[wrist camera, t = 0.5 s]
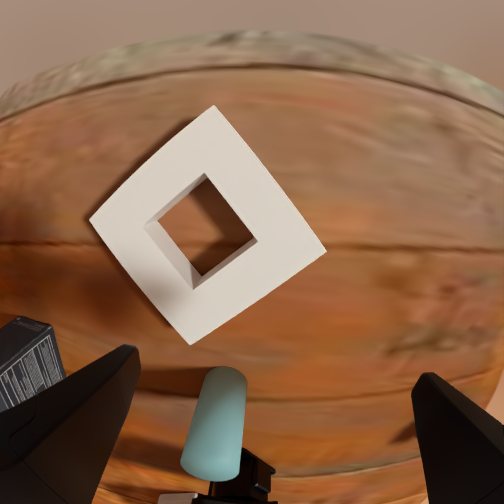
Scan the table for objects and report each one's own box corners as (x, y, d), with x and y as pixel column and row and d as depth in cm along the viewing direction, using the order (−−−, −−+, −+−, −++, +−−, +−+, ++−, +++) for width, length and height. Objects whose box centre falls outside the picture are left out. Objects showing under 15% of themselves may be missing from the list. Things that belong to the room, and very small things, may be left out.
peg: (223, 403, 26) (208, 485, 16) (195, 378, 25) (168, 459, 15) (256, 387, 25) (251, 473, 15) (228, 359, 24) (210, 445, 15)
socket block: (198, 327, 24) (190, 345, 21) (108, 215, 22) (88, 219, 19) (318, 242, 22) (326, 251, 19) (220, 114, 20) (213, 104, 17)
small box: (17, 313, 25) (-41, 352, 15) (53, 324, 25) (-8, 374, 15) (38, 383, 27) (-4, 428, 17) (74, 398, 27) (33, 452, 17)
